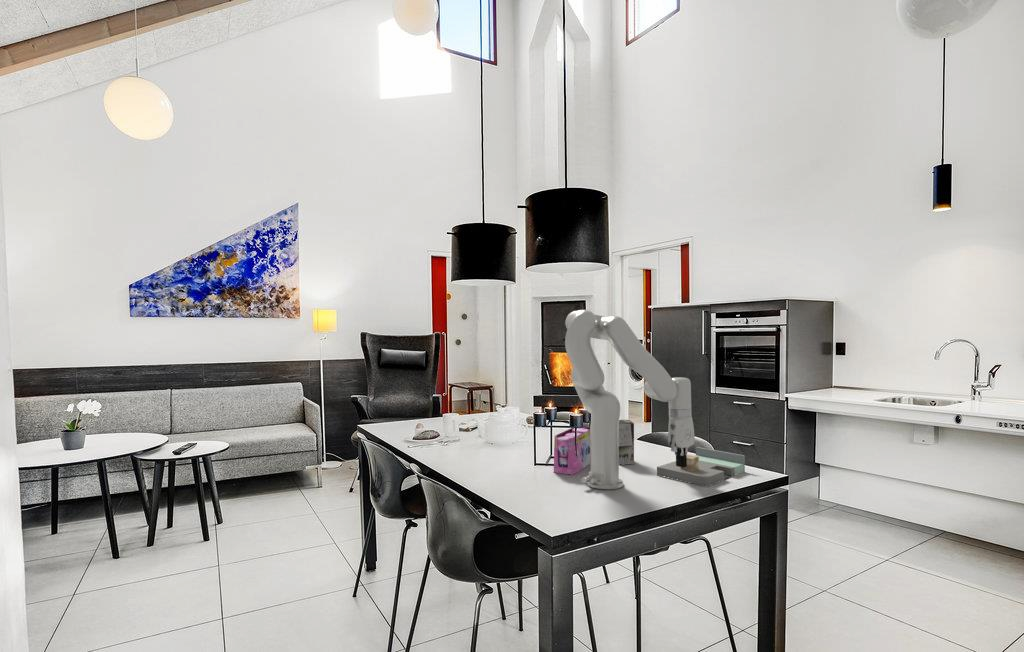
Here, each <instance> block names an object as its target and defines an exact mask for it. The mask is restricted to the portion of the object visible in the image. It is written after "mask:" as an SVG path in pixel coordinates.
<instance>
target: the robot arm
mask: <svg viewBox="0 0 1024 652" xmlns="http://www.w3.org/2000/svg"><path fill="white" fill-rule="evenodd" d="M564 324H565V327H566V329H567V330H566V332H565V337H564V339H565V340H564V346H565V351H566V354H567V357H568V359H569V362H570V364H571V366H572V368H571V372H570V379H571V382H572V384H573V386H574V388H575V391H576V394H577V395H578V397H579V399H580V402H581V403H582V406H583V407H584V409H585V411H587V412H588V413H589V414H590V415H591V418H590V424H589V425H590V464H589V466H590V467H589V468H590V469H589V471H588V475H587V476H583V477H582V478H581V482H582V484H586V485H587V486H588V487H590V488H593V489H597V490H617V489H620V488H623V487H624V481H623V480H622V479H620V478H619V477H620V476H619V474H620V471H619V469H620V468H619V467H620V465H619V439H618V430H619V420H620V416H621V403H620V400H619V398H618V397H617V396H616V395H615V394H614V393H613V392H610V391H608V390H605V388H604V383H605V374H604V373H605V372H604V371H603V369H602V367H601V365H600V363H599V361H598V358H597V355H596V354H595V352H594V350H593V346H592V343H591V339H595V340H596V339H597V340H603V341H608V342H609V343H610V345H611V346H612V348H613V349H614V350H615V352H616V353H617V354H618V356H619V358H621V361H622V362H623V363H624V364H626V366H627V367H628V368H630V369H631V370H633V371H634V372H636V373H638V375H640V376H641V377H642V378H643V379H644V380H645V382H644V385H643V391H644V393H645V395H646V396H647V397H649V398H651V399H652V400H656V401H660V402H663V403H668V430H667V432H668V433H667V434H668V435H667V441H668V442H667V443H668V446H669V447H670V451H671V452H674V455H675V461H676V466H678V467H683V468H684V467H686V466H687V454H688V451H689V448H691V446H693V445H694V444H695V443H696V442H695V440H696V439H695V428H694V427H695V426H694V421H693V417H692V388H691V387H692V383H691V379H689V378H688V377H683V376H682V377H681V376H679V377H677V376H676V377H671V375H670V374H669V373H668V371H667V370H666V369H665V367H663V365H662V364H661V362H659V361H658V360H657V359H656V358H655V357H654V356H653V355H652V354H651V353H650V352H649V351H648V349H646V348H645V346H644V345H643V344H642V342H641V341H640V340H639V338H638V337H637V335H636V334H635V333H634V331H633V330H632V328H631V327H630V326H629V324H628V323H627V322H626V320H625V319H623V318H622V317H621V316H617V315H612V316H611V315H610V316H606V315H600V314H599V315H598V314H595V313H593V312H592V311H591V310H588V309H579V310H573V311H572V312H570V313H568V315H567V316H566V319H565V321H564Z"/></svg>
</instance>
